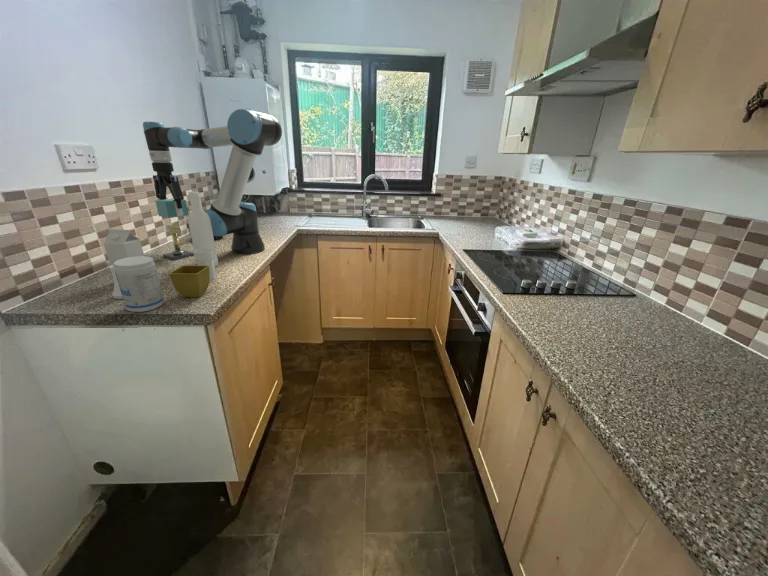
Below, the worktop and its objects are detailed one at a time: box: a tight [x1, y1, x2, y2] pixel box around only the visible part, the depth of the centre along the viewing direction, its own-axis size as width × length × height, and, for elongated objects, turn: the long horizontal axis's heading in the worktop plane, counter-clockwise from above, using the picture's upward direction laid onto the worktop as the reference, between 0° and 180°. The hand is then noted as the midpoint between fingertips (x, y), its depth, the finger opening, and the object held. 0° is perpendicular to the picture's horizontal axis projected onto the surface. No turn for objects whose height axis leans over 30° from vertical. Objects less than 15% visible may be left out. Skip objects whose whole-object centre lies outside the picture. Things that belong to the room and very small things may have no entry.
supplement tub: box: [113, 255, 165, 313], centre depth 94 cm, size 10×10×15 cm
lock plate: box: [162, 249, 194, 261], centre depth 143 cm, size 9×9×2 cm
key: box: [165, 224, 184, 251], centre depth 139 cm, size 4×14×11 cm, turn 42°
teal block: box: [154, 198, 190, 219], centre depth 144 cm, size 8×9×7 cm
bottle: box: [187, 191, 219, 268], centre depth 127 cm, size 8×8×30 cm
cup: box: [192, 248, 217, 281], centre depth 117 cm, size 7×7×11 cm
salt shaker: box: [108, 265, 123, 300], centre depth 102 cm, size 8×8×10 cm
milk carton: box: [103, 228, 145, 266], centre depth 111 cm, size 7×7×19 cm
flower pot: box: [168, 264, 211, 298], centre depth 104 cm, size 9×9×9 cm
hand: (173, 214), depth 145 cm, fingers closed on teal block, 8 cm apart
